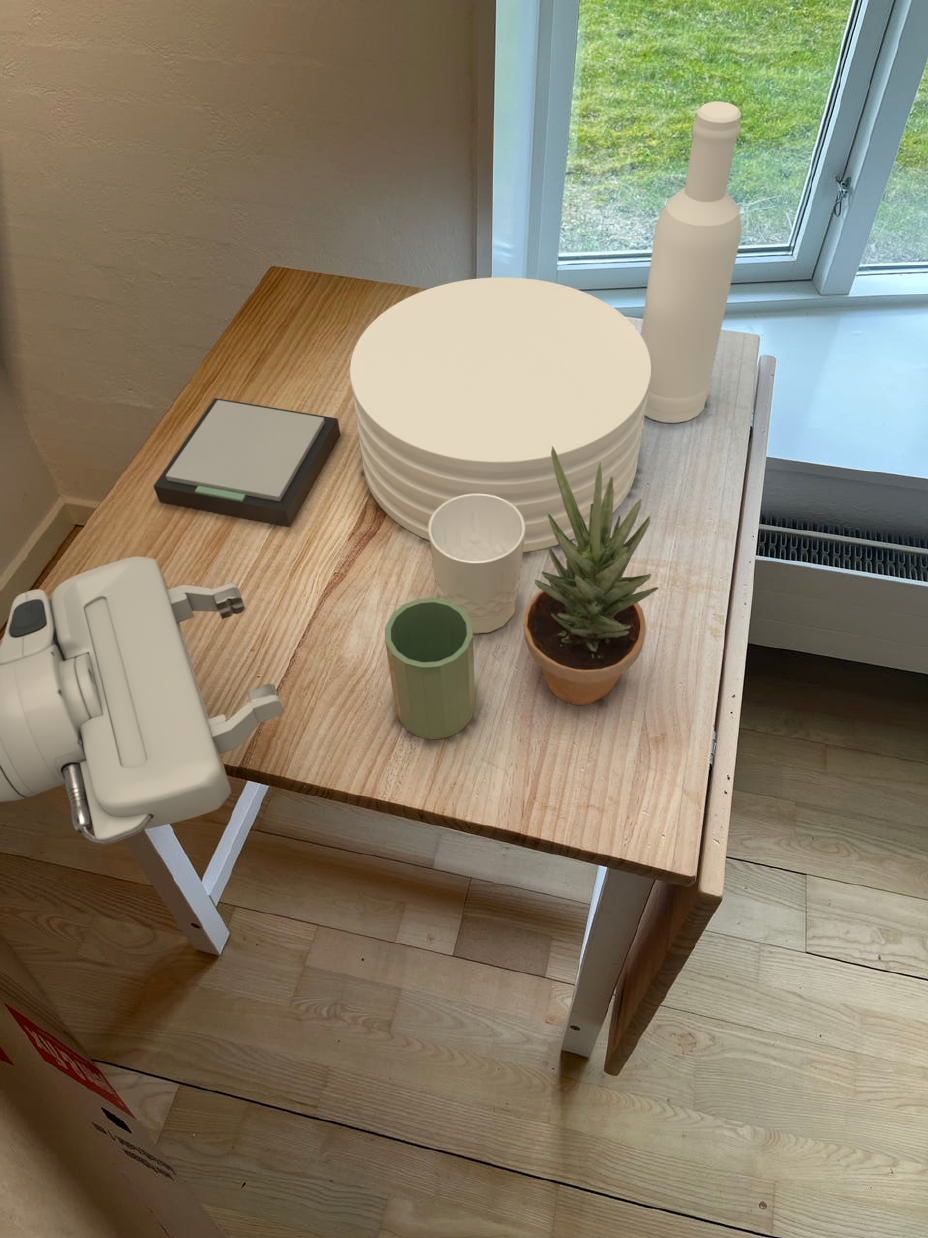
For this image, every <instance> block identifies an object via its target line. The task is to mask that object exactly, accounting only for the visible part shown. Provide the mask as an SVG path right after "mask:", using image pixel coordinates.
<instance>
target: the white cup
mask: <svg viewBox="0 0 928 1238" xmlns="http://www.w3.org/2000/svg"><path fill="white" fill-rule="evenodd" d="M428 533H429V540H430V541H429V540H428V541H429V546H430V554H431V560H432V568H433V574H434V579H435V585H436V590H437V594H438V598H439V599H443V600H447V601H451V602H453V603H454V604H456V605H457V606H459V607H460V608H462V609H463V610H464V611H465V612H466V614H467V615H468V617H469V618H470V620H471V622H472V630H473V634H484V633H485V634H488V633H491V632H494V631H496V630H497V629H500V628H502V627H505V625H506V624H507V623H508V622H509V621H510V620H511V618H512V617H513V616H514V615H515V610H516V605H517V596H518V591H519V590H520V589H519V588H520V581H521V580H520V579H521V572H522V566H523V555H524V552H523V545H524V535H525V523H524V519H523V517H522V515H521V513H520V512H519V510H518V509H517V508H516V507H515V506H514V505H512V504H511V503H510V502H508V501H506V500H505V499H502V498H500V497H497V496H494V495H489V494H480V493H475V494H466V495H461V496H458V497H455V498H452V499H450V500H448V501H446V502H445V503H443V504H442V505H441V506H440V507H438V508H437V509H436V511H435V512H434V513H433V515H432V516H431V518H430V521H429V525H428Z"/></svg>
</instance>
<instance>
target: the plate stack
mask: <svg viewBox="0 0 928 1238" xmlns="http://www.w3.org/2000/svg"><path fill="white" fill-rule="evenodd" d="M650 378H651V360H650V355H649V351H648V349H647V346H646V344H645V342H644V340H643V338H642V336H641V332H640V331H638V329H637V327H636V326H635V325H634V324H633V323H632V322H631V321H630V320H629V319H628V318H627V317H626V316H625V315H624V314H622V313H621V312H620V311H619V310H617V309H616V308H614V307H613V306H612V305H611V304H609V303H606V302H605V301H604V300H601V299H600V298H598V297H596V296H593V295H591V294H589V293H587V292H584V291H582V290H579V289H577V288H574V287H571V286H567V285H564V284H563V285H562V284H560V283H556V282H551V281H546V280H541V279H533V278H527V277H526V278H525V277H524V278H523V277H509V276H508V277H506V276H500V277H498V276H497V277H481V278H472V279H465V280H458V281H454V282H449V283H445V284H440V285H437V286H434V287H431V288H428V289H425V290H422V291H420V292H416V293H415V294H413V295H411V296H408V297H406V298H404V299H402V300H401V301H399V302H397V303H395V304H394V305H391V307H389V308H387V309H386V310H385V311H384V312H382V313H381V314H380V315H379V316H377V318H375V319H374V320H373V321H372V322H371V323H370V324H369V325H368V326H367V327H366V329H365V330H364V331H363V332H362V334H361V336H360V337H359V338H358V340H357V342H356V344H355V347H354V349H353V352H352V355H351V359H350V363H349V379H350V385H351V391H352V398H353V405H354V413H355V417H356V426H357V433H358V439H359V447H360V453H361V454H360V455H361V460H362V467H363V468H362V469H363V473H364V478H365V481H366V482H365V483H366V485H367V487H368V489H369V492H370V493H371V495H372V497H373V498H374V500H375V501H376V503H377V504H378V506H379V507H380V508H381V509H382V510H383V511H384V513H386V514H387V515H388V516H389V517H390V518H391V519H392V520H393V521H395V522H396V523H397V524H398V525H400V526H401V527H403V528H404V529H405V530H407V531H409V532H411V533H413V534H414V535H416V536H418V537H420V538H422V539H424V540H427V541H429V542H430V540H429V533H428V525H429V521H430V518H431V516H432V515H433V513H434V512H435V511H436V509H437V508H438V507H440V506H441V505H442V504H443V503H445V502H446V501H448V500H450V499H452V498H455V497H458V496H461V495H466V494H475V493H480V494H489V495H494V496H497V497H500V498H502V499H505V500H506V501H508V502H510V503H511V504H512V505H514V506H515V507H516V508H517V509H518V510H519V512H520V513H521V515H522V517H523V519H524V523H525V535H524V545H523V553H528V552H534V551H540V550H543V549H548V548H547V547H550V548H552V547H555V546H560V545H559V543H558V541H557V539H556V537H555V535H554V533H553V530H552V527H551V524H550V522H549V518H548V513H549V514H550V515H551V517H552V518H553V519H554V521H555V522H556V524H557V525H558V526H559V528H560V529H561V530H562V532H563V533H564V534H565V535H566V537H567V538H568V539H569V540H570V541H572V540H574V539H576V538H575V535H574V532H573V529H572V526H571V523H570V520H569V517H568V515H567V512H566V510H565V507H564V503H563V499H562V496H561V492H560V489H559V485H558V482H557V478H556V474H555V470H554V464H553V460H552V456H551V451H552V446H553V447H554V450H555V451H556V454H557V456H558V459H559V462H560V465H561V467H562V469H563V472H564V474H565V476H566V479H567V481H568V484H569V486H570V489H571V491H572V494H573V496H574V499H575V501H576V504H577V507H578V509H579V512H580V514H581V516H582V518H583V520H584V522H585V525H586V528H587V530H588V529H589V518H590V509H591V504H593V498H594V491H595V481H596V475H597V471H598V466H599V463H600V462H601V470H602V492H601V506H602V502H603V499H604V495H605V492H606V489H607V486H608V483H609V480H610V477H611V476H613V489H614V498H613V513H615V512H616V511H617V510H618V508H619V507H620V506H621V505H622V504H623V502H624V501H625V499H626V498H627V496H628V494H629V493H630V491H631V489H632V486H633V484H634V481H635V478H636V473H637V468H638V462H639V461H638V460H639V454H640V449H641V441H642V435H643V430H644V429H643V428H644V422H645V410H646V404H647V397H648V390H649V385H650Z"/></svg>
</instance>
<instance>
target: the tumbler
mask: <svg viewBox="0 0 928 1238" xmlns="http://www.w3.org/2000/svg"><path fill="white" fill-rule="evenodd" d="M384 642H385V649H386V654H387V663H388V668H389V675H390V683H391V688H392V695H393V702H394V708H395V712H396V716H397V718H398V720H399V722H400V724H401V725H402V727H404V729H405V730H407V731H408V732H409V733H411V734H413V735H414V736H416V737H419V738H422V739H427V740H441V739H446V738H450V737H452V736H455V735H456V734H458V733H460V732H461V731H463V730H464V728H466V727H467V725H468V724H469V723H470V722H471V720H472V718H473V716H474V713H475V708H476V688H475V686H476V685H475V660H474V659H475V656H474V655H475V653H474V633H473V630H472V622H471V620H470V618H469V617H468V615H467V614H466V612H465V611H464V610H463V609H462V608H460V607H459V606H457V605H456V604H454V603H453V602H451V601H447V600H443V599H439V597H424V598H417V599H414V600H412V601H410V602H407V603H404V604H402V605H401V606H400V607H399V608H398V609H396V611H394V612H393V613H391V615H390V617H389V619H388V621H387V622H386V625H385V627H384Z"/></svg>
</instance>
